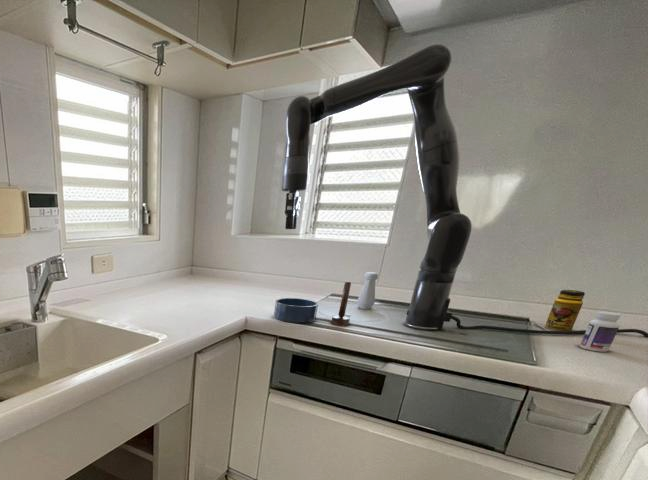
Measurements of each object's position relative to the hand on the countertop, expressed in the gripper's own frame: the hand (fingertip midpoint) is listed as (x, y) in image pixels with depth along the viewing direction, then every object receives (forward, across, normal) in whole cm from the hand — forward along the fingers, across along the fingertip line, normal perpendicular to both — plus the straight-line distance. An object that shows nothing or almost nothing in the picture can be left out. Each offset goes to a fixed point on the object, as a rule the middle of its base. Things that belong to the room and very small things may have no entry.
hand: (290, 229), depth 130 cm
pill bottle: (+33, -1, -80) cm, 86 cm away
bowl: (+28, -5, -4) cm, 29 cm away
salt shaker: (+29, +24, -26) cm, 46 cm away
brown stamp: (+29, -4, -18) cm, 34 cm away
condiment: (+32, +20, -79) cm, 88 cm away
